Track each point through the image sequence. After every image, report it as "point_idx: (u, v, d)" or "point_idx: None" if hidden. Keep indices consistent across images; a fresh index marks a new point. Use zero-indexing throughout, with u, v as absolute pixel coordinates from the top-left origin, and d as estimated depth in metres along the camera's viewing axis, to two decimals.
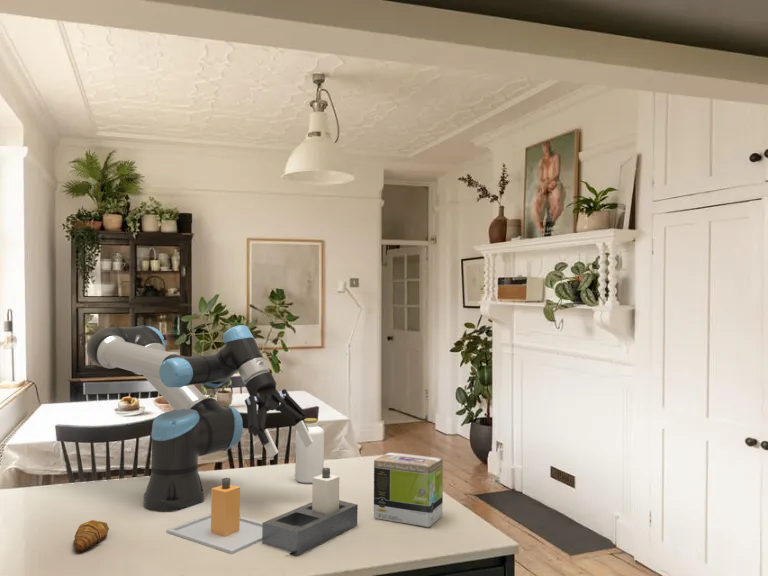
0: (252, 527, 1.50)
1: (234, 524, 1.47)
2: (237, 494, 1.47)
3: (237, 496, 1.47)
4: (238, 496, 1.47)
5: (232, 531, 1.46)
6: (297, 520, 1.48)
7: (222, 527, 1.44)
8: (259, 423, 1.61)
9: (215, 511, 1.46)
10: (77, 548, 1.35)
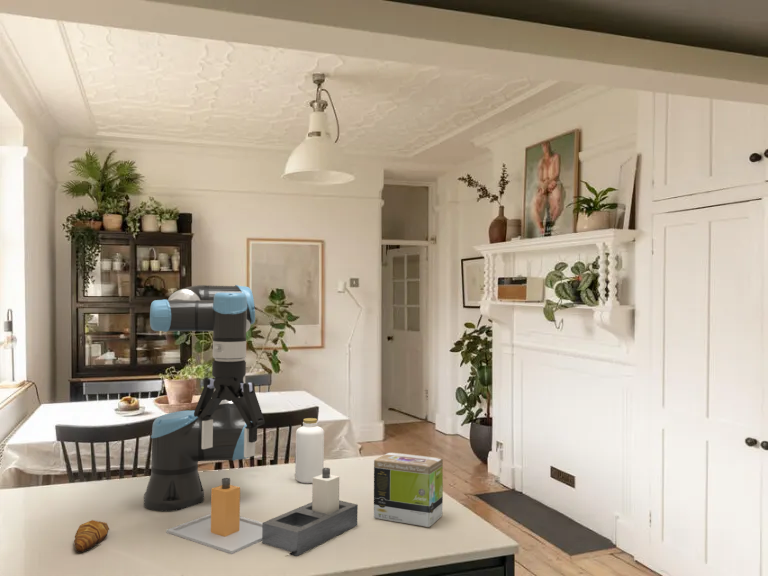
0: (252, 527, 1.50)
1: (234, 524, 1.47)
2: (237, 494, 1.47)
3: (237, 496, 1.47)
4: (238, 496, 1.47)
5: (232, 531, 1.46)
6: (297, 520, 1.48)
7: (222, 527, 1.44)
8: None
9: (215, 511, 1.46)
10: (77, 548, 1.35)
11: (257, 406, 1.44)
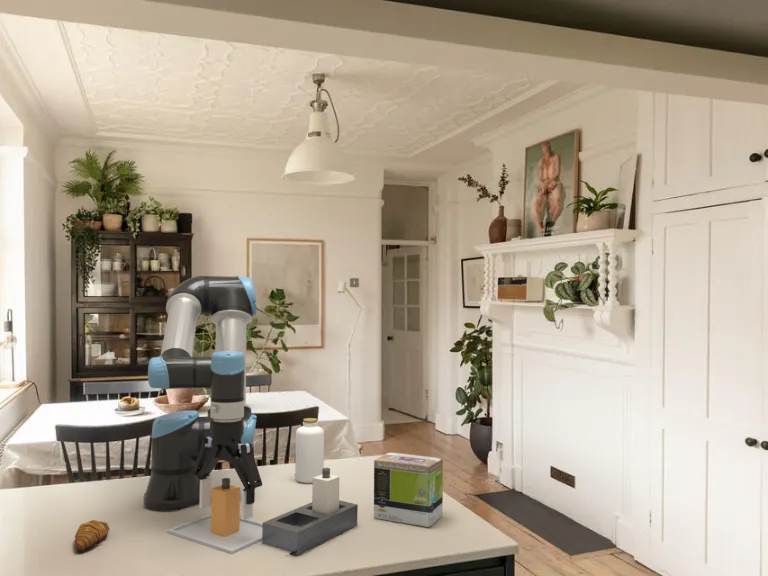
0: (252, 527, 1.50)
1: (234, 524, 1.47)
2: (237, 494, 1.47)
3: (237, 496, 1.47)
4: (238, 496, 1.47)
5: (232, 531, 1.46)
6: (297, 520, 1.48)
7: (222, 527, 1.44)
8: None
9: (215, 511, 1.46)
10: (77, 548, 1.35)
11: (254, 468, 1.43)
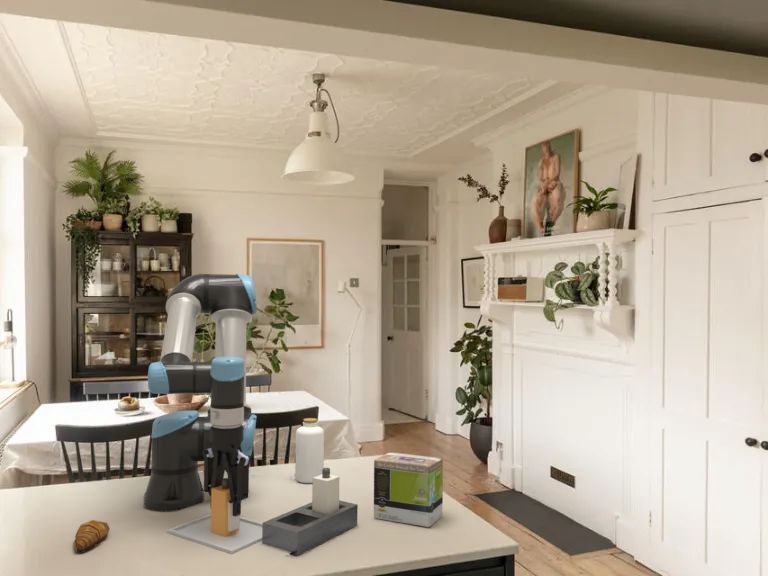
0: (252, 527, 1.50)
1: None
2: None
3: None
4: None
5: (232, 531, 1.46)
6: (297, 520, 1.48)
7: (222, 527, 1.44)
8: None
9: (215, 511, 1.46)
10: (78, 548, 1.35)
11: (246, 481, 1.44)
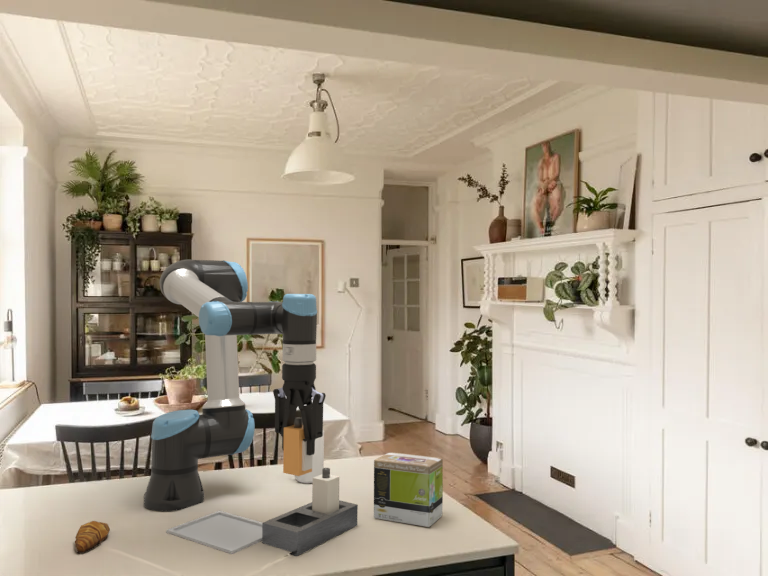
0: (252, 527, 1.50)
1: None
2: None
3: None
4: None
5: (305, 471, 1.42)
6: (297, 520, 1.48)
7: (296, 466, 1.40)
8: None
9: (288, 450, 1.42)
10: (78, 549, 1.35)
11: (320, 419, 1.40)
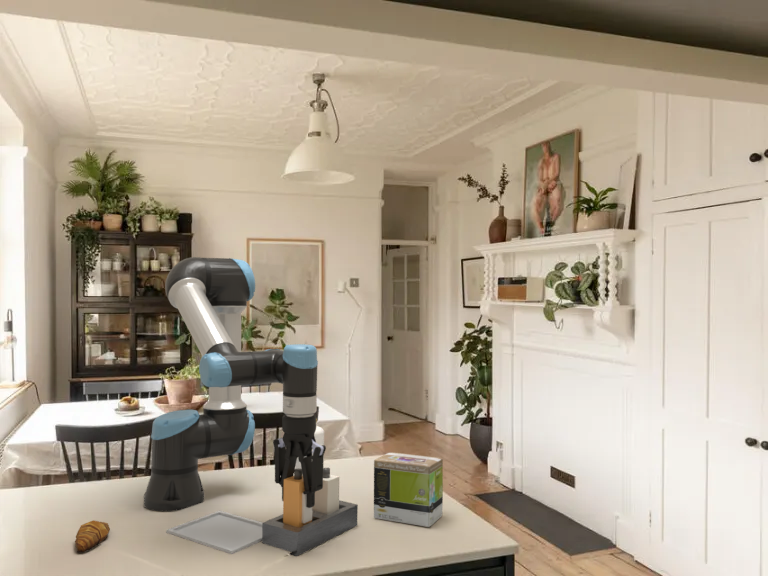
0: (252, 527, 1.50)
1: None
2: None
3: None
4: None
5: (305, 523, 1.42)
6: None
7: (296, 518, 1.40)
8: None
9: (288, 502, 1.42)
10: (78, 548, 1.35)
11: (321, 471, 1.41)
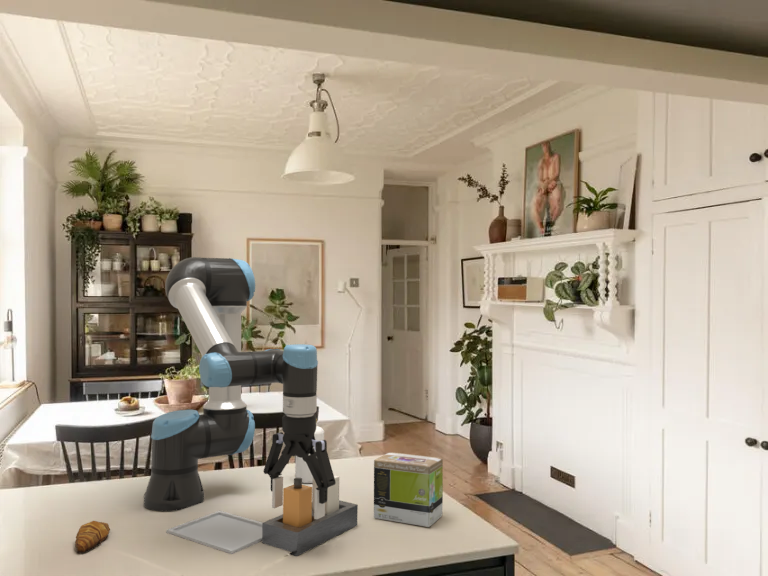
0: (252, 527, 1.50)
1: None
2: (309, 494, 1.43)
3: (309, 496, 1.43)
4: (310, 496, 1.44)
5: None
6: None
7: None
8: None
9: (288, 511, 1.42)
10: (78, 549, 1.35)
11: (329, 466, 1.39)
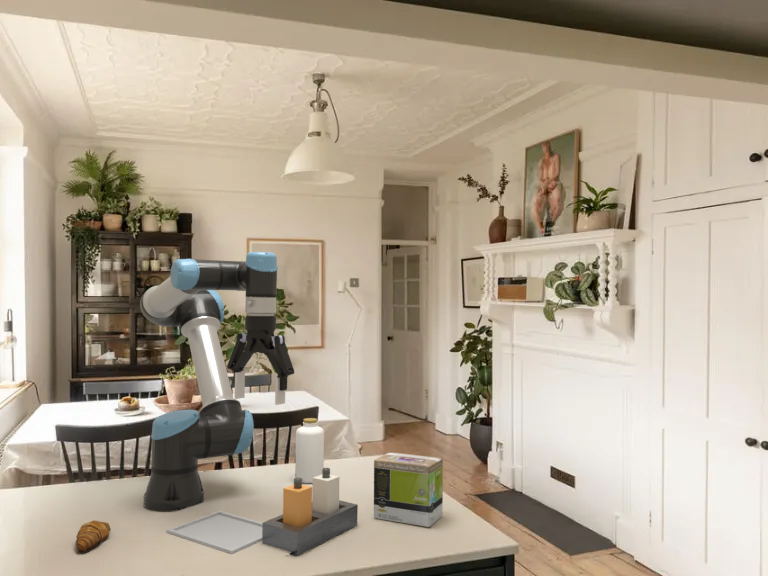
0: (252, 527, 1.50)
1: None
2: (309, 494, 1.43)
3: (309, 496, 1.43)
4: (310, 496, 1.44)
5: None
6: None
7: None
8: None
9: (288, 511, 1.42)
10: (79, 548, 1.35)
11: (287, 357, 1.54)
